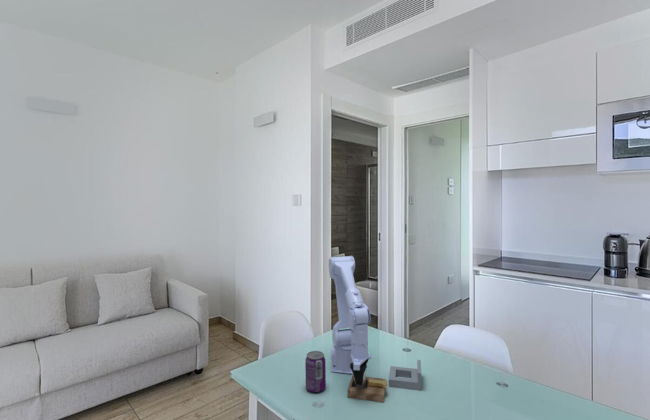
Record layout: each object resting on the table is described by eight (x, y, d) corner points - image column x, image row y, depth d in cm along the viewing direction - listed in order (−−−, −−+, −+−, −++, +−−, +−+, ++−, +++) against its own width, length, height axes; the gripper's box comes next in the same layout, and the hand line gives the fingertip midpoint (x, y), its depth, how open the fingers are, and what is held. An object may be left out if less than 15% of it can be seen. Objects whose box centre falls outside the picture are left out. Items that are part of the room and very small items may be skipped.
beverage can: (328, 384, 120) (328, 351, 119) (321, 395, 113) (321, 360, 113) (310, 381, 122) (309, 349, 122) (302, 391, 115) (302, 357, 115)
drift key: (368, 386, 113) (367, 382, 113) (369, 381, 116) (369, 378, 116) (386, 388, 112) (386, 384, 112) (387, 383, 115) (387, 380, 115)
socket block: (347, 397, 111) (347, 390, 111) (352, 381, 121) (352, 375, 121) (383, 402, 108) (383, 394, 108) (385, 386, 118) (385, 379, 118)
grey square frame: (388, 386, 118) (388, 369, 118) (390, 372, 128) (390, 356, 127) (421, 390, 115) (421, 373, 115) (420, 375, 125) (420, 360, 125)
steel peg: (353, 392, 114) (353, 369, 114) (355, 386, 118) (355, 363, 118) (365, 393, 113) (364, 370, 113) (366, 387, 117) (366, 365, 117)
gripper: (368, 352, 107) (369, 393, 107) (373, 334, 121) (373, 371, 121) (347, 350, 109) (347, 391, 109) (354, 333, 123) (354, 369, 123)
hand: (360, 380), depth 115 cm, fingers closed on steel peg, 4 cm apart
